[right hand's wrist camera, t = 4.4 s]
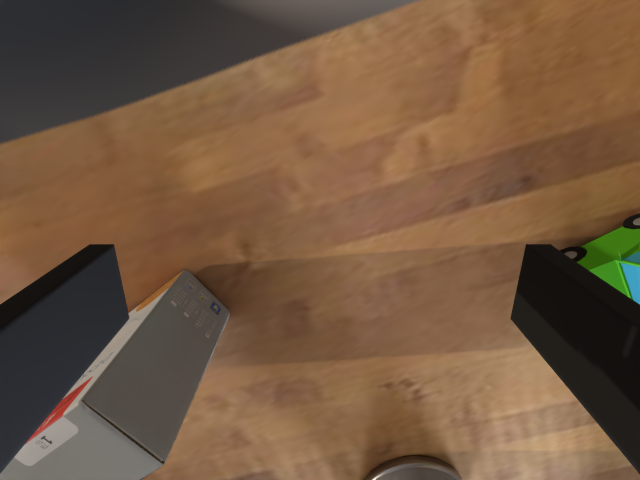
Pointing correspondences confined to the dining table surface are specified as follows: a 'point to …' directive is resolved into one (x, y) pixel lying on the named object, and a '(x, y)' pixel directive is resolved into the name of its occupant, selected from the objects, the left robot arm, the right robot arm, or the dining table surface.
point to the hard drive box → (130, 392)
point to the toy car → (614, 257)
